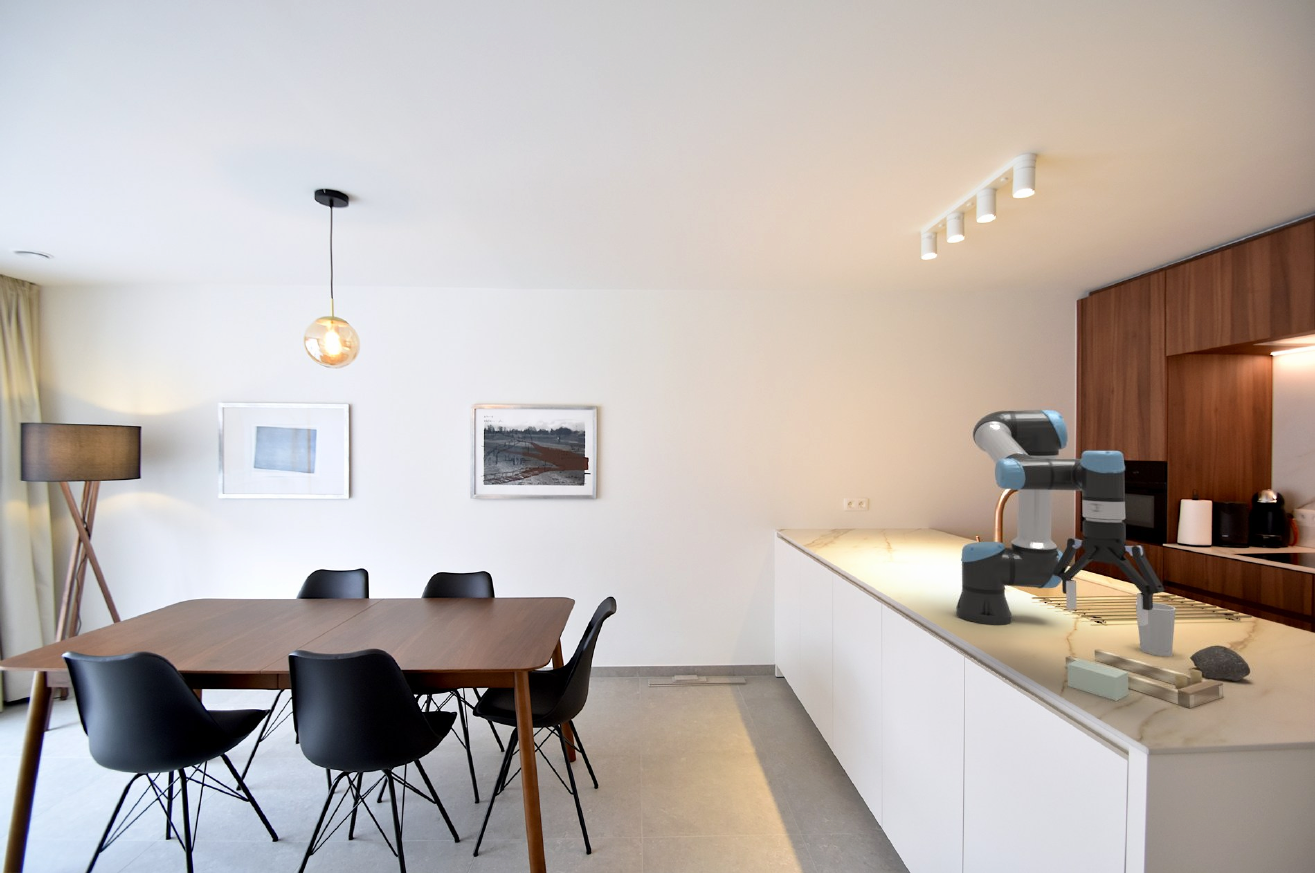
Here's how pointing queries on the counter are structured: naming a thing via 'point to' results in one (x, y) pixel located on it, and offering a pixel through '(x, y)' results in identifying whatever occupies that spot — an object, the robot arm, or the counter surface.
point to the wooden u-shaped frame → (1186, 689)
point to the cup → (1158, 630)
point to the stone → (1220, 663)
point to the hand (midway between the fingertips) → (1105, 616)
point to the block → (1098, 679)
